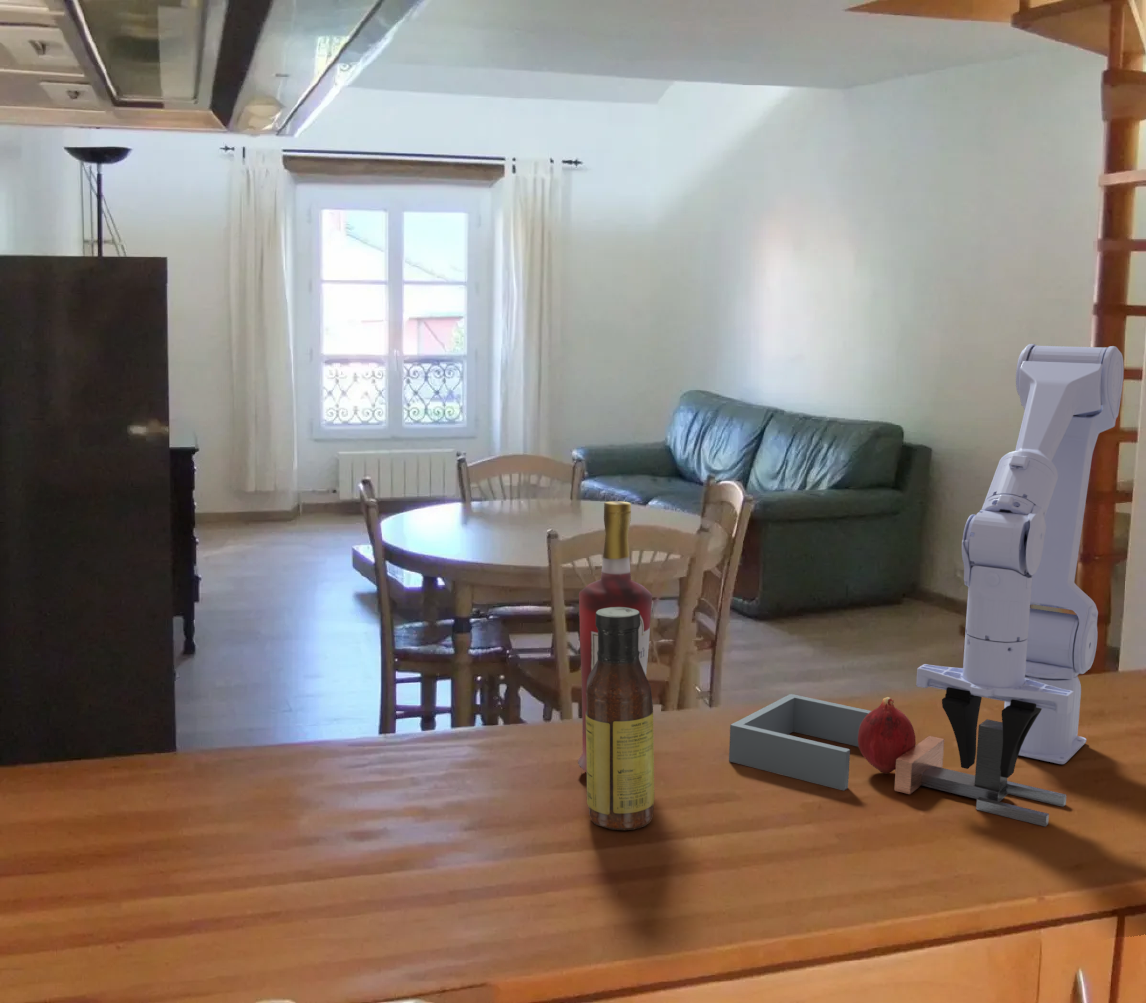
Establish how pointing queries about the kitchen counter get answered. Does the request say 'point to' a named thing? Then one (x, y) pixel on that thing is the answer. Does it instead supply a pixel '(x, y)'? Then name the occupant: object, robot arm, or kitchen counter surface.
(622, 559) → the liquor
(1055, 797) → the rail
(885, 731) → the onion
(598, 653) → the sauce bottle
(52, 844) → the kitchen counter surface
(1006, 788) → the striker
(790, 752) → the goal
